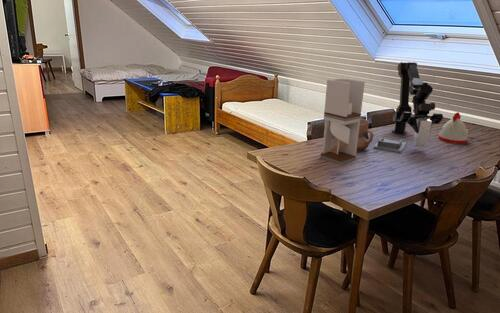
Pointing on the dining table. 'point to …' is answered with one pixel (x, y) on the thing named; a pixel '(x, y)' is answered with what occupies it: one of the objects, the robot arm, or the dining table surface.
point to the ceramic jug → (362, 141)
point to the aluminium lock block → (422, 132)
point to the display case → (342, 119)
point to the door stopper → (367, 132)
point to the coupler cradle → (390, 145)
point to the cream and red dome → (454, 131)
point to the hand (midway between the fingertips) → (423, 133)
